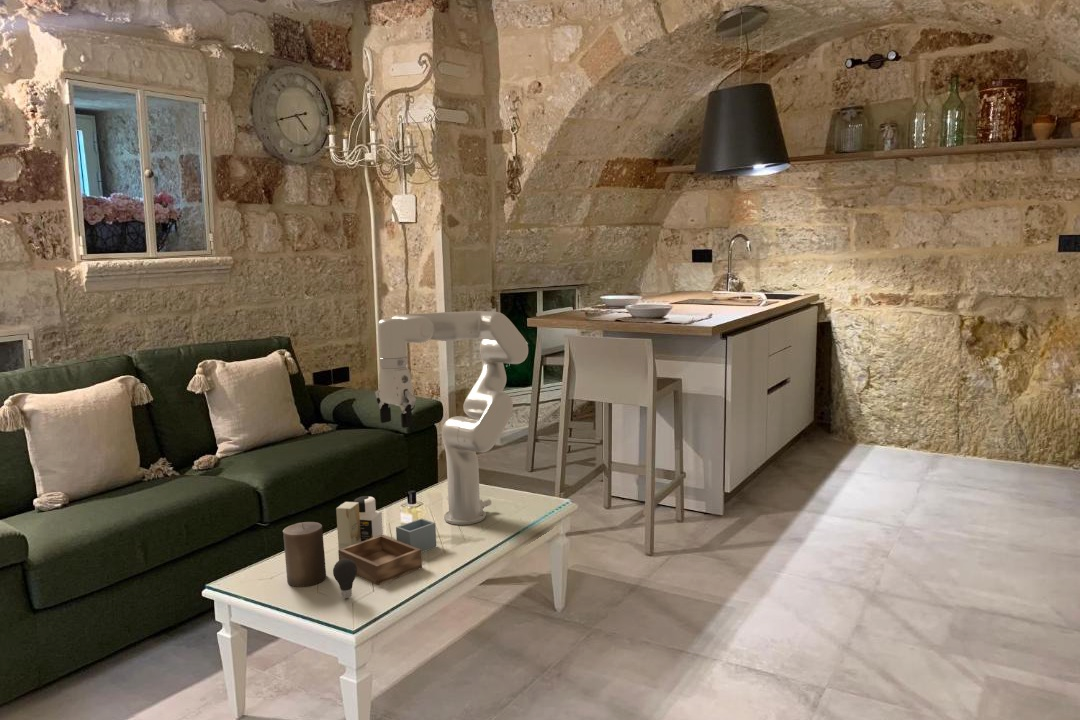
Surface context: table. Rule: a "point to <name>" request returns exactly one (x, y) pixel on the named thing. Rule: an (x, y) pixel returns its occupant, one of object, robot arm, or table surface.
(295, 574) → the pillar candle
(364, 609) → the table surface
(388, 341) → the robot arm
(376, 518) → the medicine bottle
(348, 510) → the skincare box
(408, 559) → the walnut crate
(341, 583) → the light bulb
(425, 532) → the grey crate
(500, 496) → the table surface
